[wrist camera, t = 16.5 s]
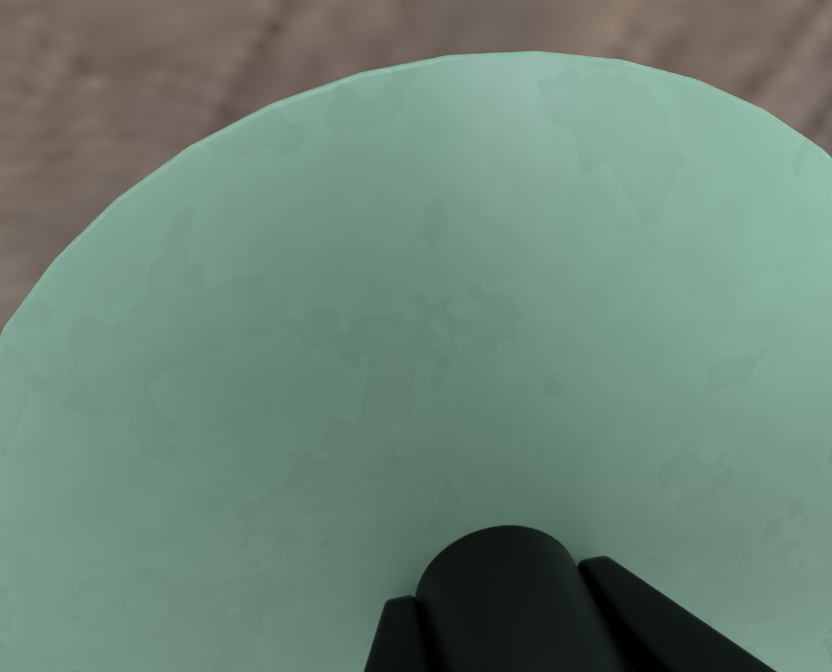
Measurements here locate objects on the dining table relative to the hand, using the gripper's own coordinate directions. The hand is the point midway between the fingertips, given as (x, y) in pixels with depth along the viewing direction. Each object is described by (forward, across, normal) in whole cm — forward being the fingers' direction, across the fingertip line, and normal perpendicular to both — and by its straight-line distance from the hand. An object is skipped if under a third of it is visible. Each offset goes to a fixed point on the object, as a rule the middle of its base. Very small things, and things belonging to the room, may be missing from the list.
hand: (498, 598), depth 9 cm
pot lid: (+1, 0, 0) cm, 1 cm away
